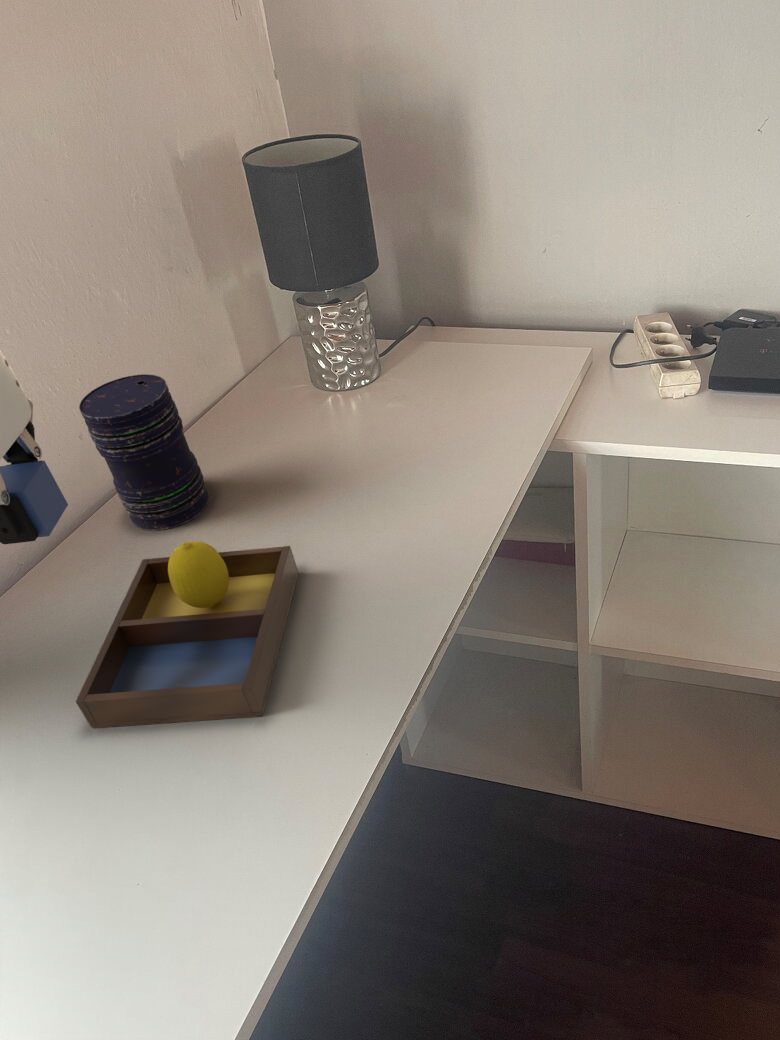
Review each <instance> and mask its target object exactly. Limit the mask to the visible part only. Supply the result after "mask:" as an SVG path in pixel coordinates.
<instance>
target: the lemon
mask: <svg viewBox="0 0 780 1040" xmlns="http://www.w3.org/2000/svg"><path fill="white" fill-rule="evenodd" d="M169 557H170V558H169V563H168V575H169V579H170V582H171V585H172V588H173V590H174V592H175V593H176V595H177V596H178V597H179V598H180V599H181V600H182V601H183V602H184V603H186V604H188V605H190V606H192V607H196V608H207V607H213V606H214V605H215V604H217V603H218V602H220V601H221V600H222V599H223V597H224V596H225V594H226V592H227V590H228V586H229V575H228V570H227V567H226V564H225V562H224V561H223V559H222V558H221V556H220V555H219V553H218V550H217V549H215V547H213V546H211V545H210V544H208V543H206V542H203V541H197V540H193V541H185V542H183V543H181V544H180V545H179V546H178V547H176V548H175V549H174V550H173V551H172V553H171V555H170V556H169Z"/></svg>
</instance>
